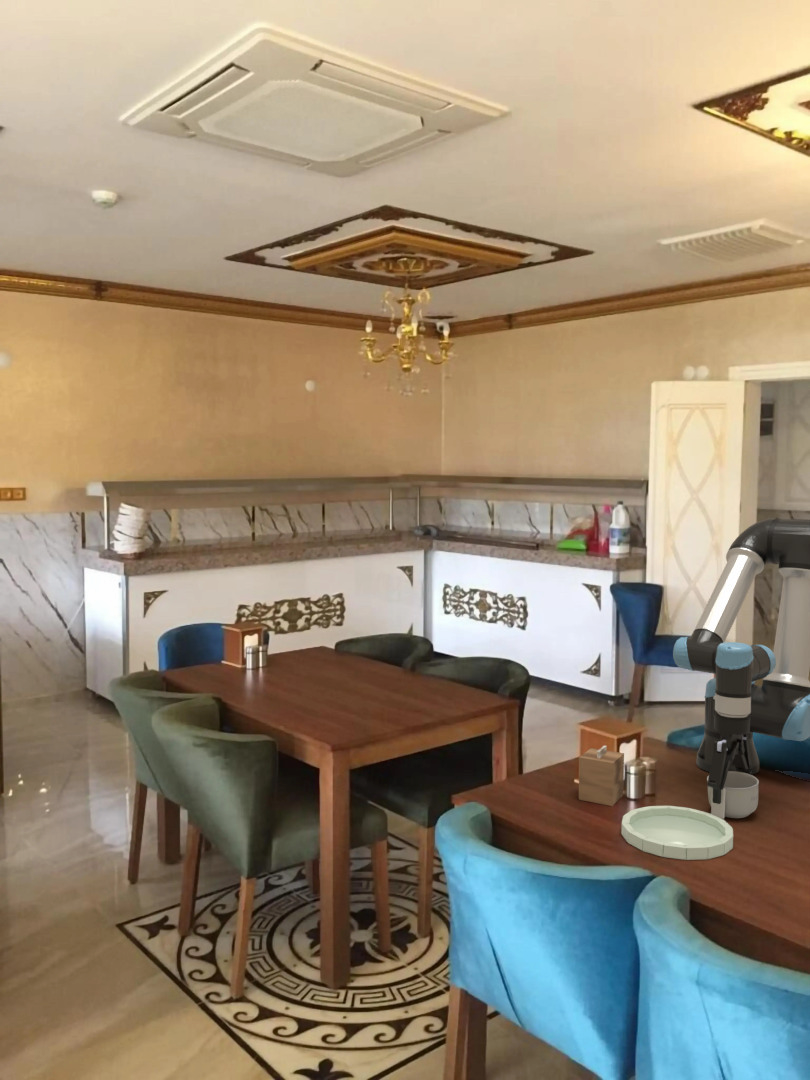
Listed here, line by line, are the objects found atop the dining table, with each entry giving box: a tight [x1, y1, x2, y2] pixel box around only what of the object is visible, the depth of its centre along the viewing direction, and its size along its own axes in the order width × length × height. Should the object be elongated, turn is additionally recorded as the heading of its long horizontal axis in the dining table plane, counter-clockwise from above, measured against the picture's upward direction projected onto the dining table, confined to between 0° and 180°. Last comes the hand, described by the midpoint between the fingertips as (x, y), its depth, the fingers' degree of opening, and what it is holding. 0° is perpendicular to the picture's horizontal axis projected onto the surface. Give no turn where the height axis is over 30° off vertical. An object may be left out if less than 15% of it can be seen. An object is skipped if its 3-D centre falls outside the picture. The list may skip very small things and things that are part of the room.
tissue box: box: [578, 745, 625, 807], centre depth 213 cm, size 8×8×12 cm
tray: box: [620, 805, 734, 861], centre depth 191 cm, size 22×22×2 cm
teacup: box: [706, 771, 760, 819], centre depth 205 cm, size 14×11×8 cm
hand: (728, 809), depth 205 cm, fingers open, 12 cm apart
